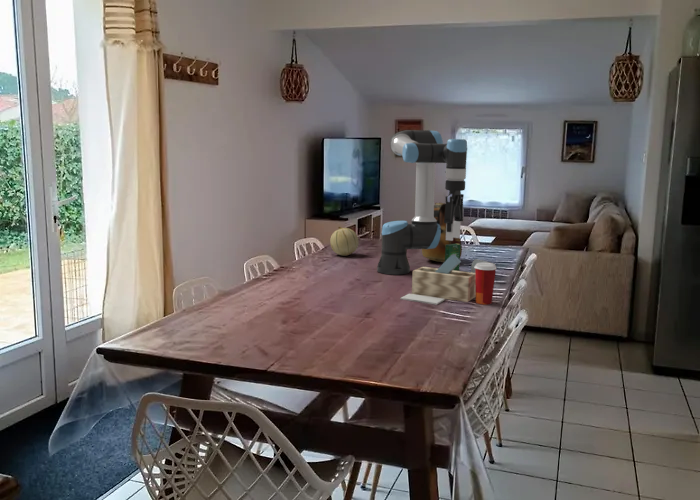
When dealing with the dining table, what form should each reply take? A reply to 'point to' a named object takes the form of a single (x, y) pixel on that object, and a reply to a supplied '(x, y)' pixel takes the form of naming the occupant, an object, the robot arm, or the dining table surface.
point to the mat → (422, 299)
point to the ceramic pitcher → (439, 251)
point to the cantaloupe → (344, 241)
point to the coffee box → (453, 252)
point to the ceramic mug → (476, 263)
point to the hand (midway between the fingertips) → (452, 238)
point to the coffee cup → (484, 282)
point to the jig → (444, 284)
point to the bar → (449, 265)
